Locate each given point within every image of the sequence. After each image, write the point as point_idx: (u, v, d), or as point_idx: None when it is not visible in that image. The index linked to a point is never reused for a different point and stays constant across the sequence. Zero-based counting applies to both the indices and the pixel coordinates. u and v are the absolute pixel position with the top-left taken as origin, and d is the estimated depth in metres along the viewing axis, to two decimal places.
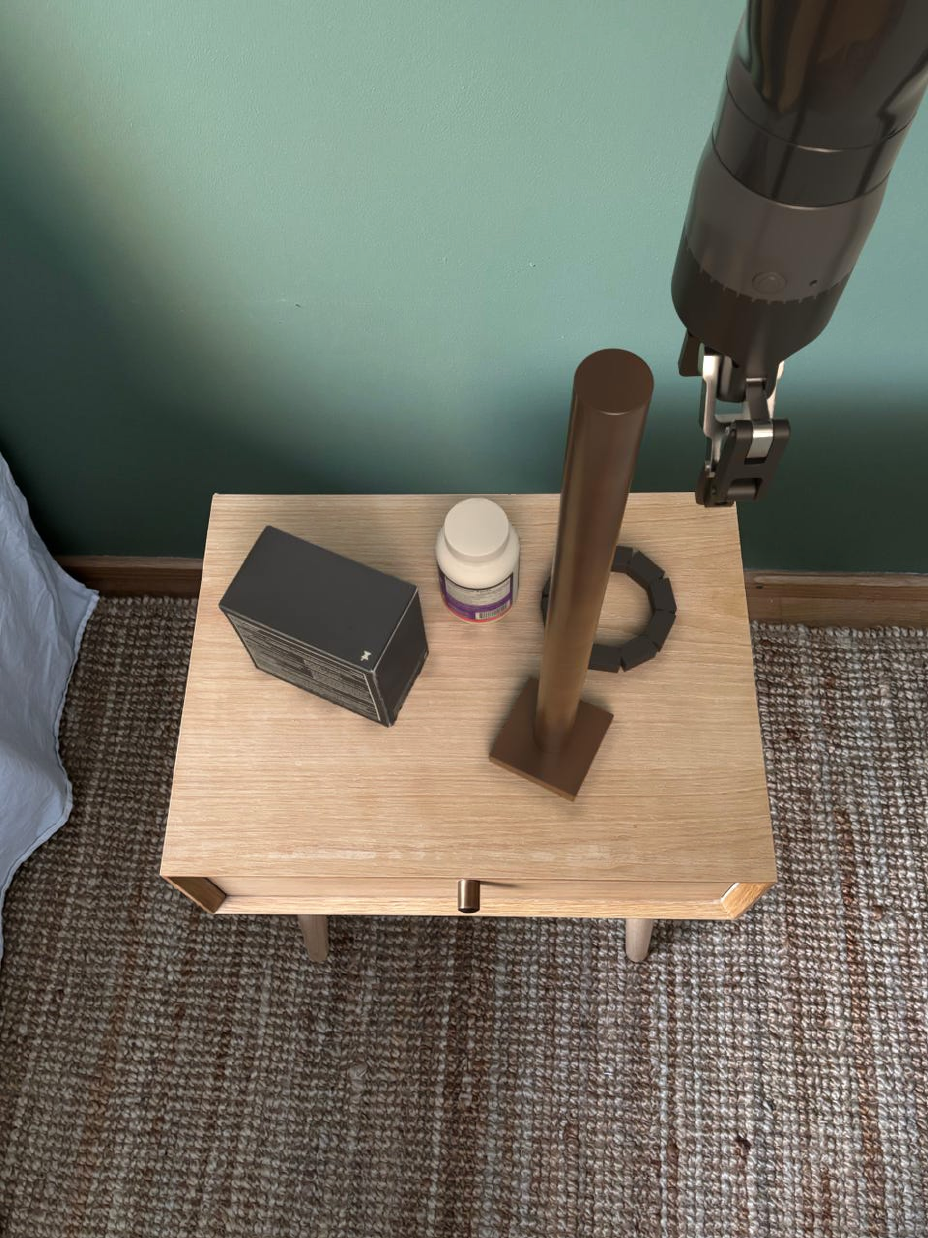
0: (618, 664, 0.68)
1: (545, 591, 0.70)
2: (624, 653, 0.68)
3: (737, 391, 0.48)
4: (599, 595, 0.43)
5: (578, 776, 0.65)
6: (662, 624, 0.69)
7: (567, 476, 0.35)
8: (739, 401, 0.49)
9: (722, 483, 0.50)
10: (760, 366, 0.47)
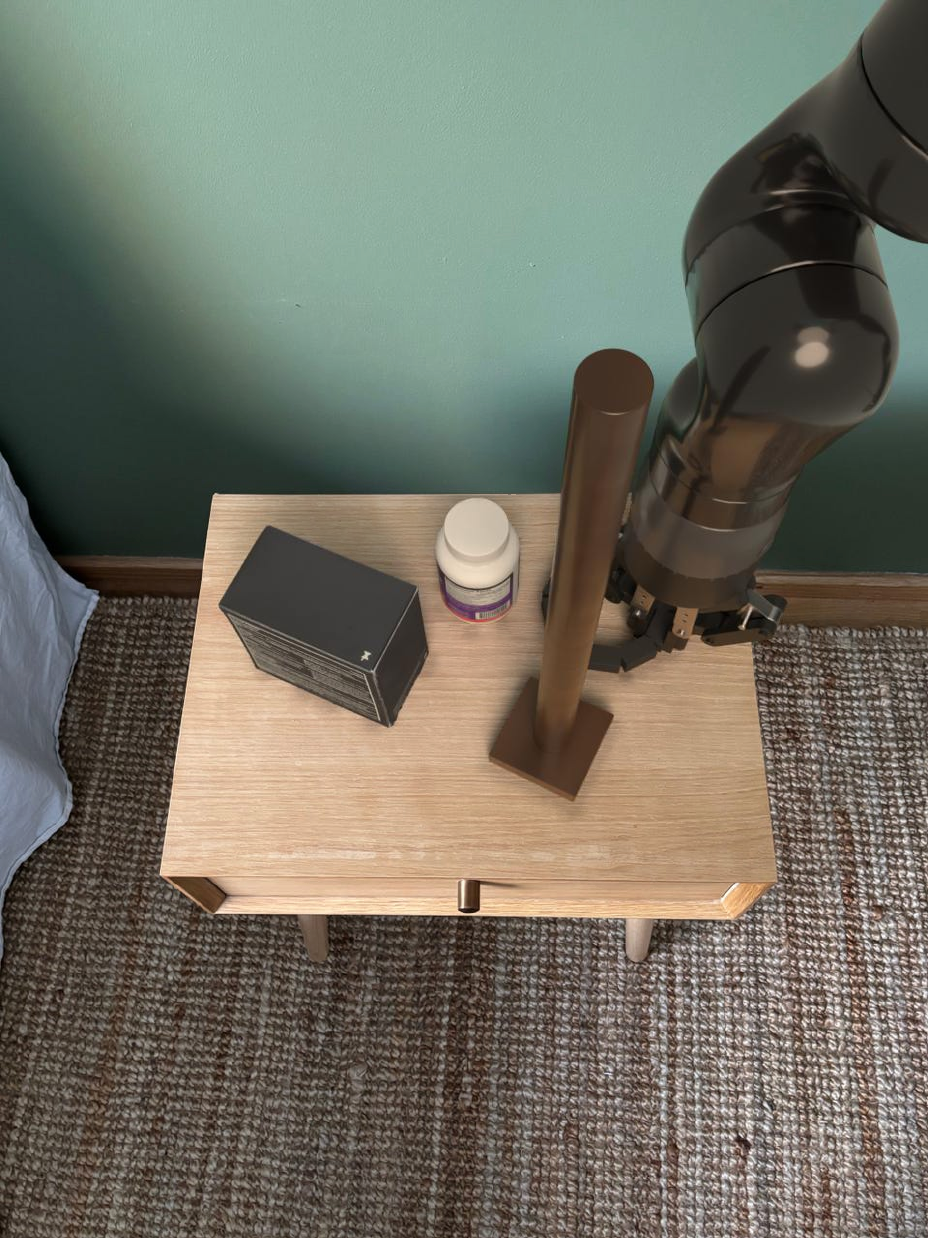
0: (619, 664, 0.68)
1: (545, 592, 0.70)
2: (624, 654, 0.68)
3: (745, 602, 0.59)
4: (599, 595, 0.43)
5: (578, 776, 0.65)
6: (663, 624, 0.69)
7: (567, 476, 0.35)
8: (746, 604, 0.59)
9: (732, 643, 0.63)
10: None
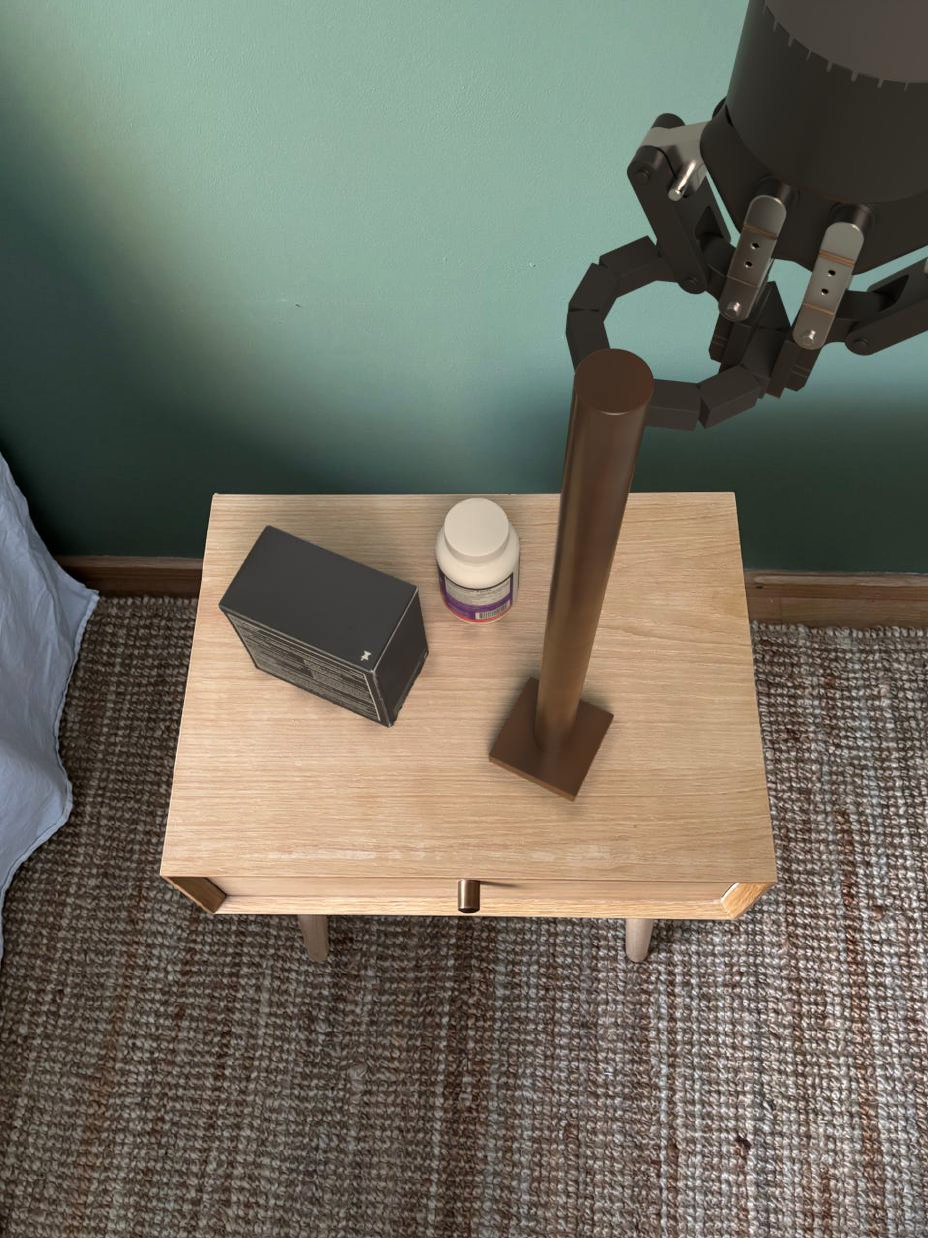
0: (697, 409, 0.41)
1: (573, 303, 0.43)
2: (706, 392, 0.41)
3: None
4: (599, 595, 0.43)
5: (578, 776, 0.65)
6: (768, 348, 0.42)
7: (567, 476, 0.35)
8: None
9: (906, 338, 0.36)
10: None
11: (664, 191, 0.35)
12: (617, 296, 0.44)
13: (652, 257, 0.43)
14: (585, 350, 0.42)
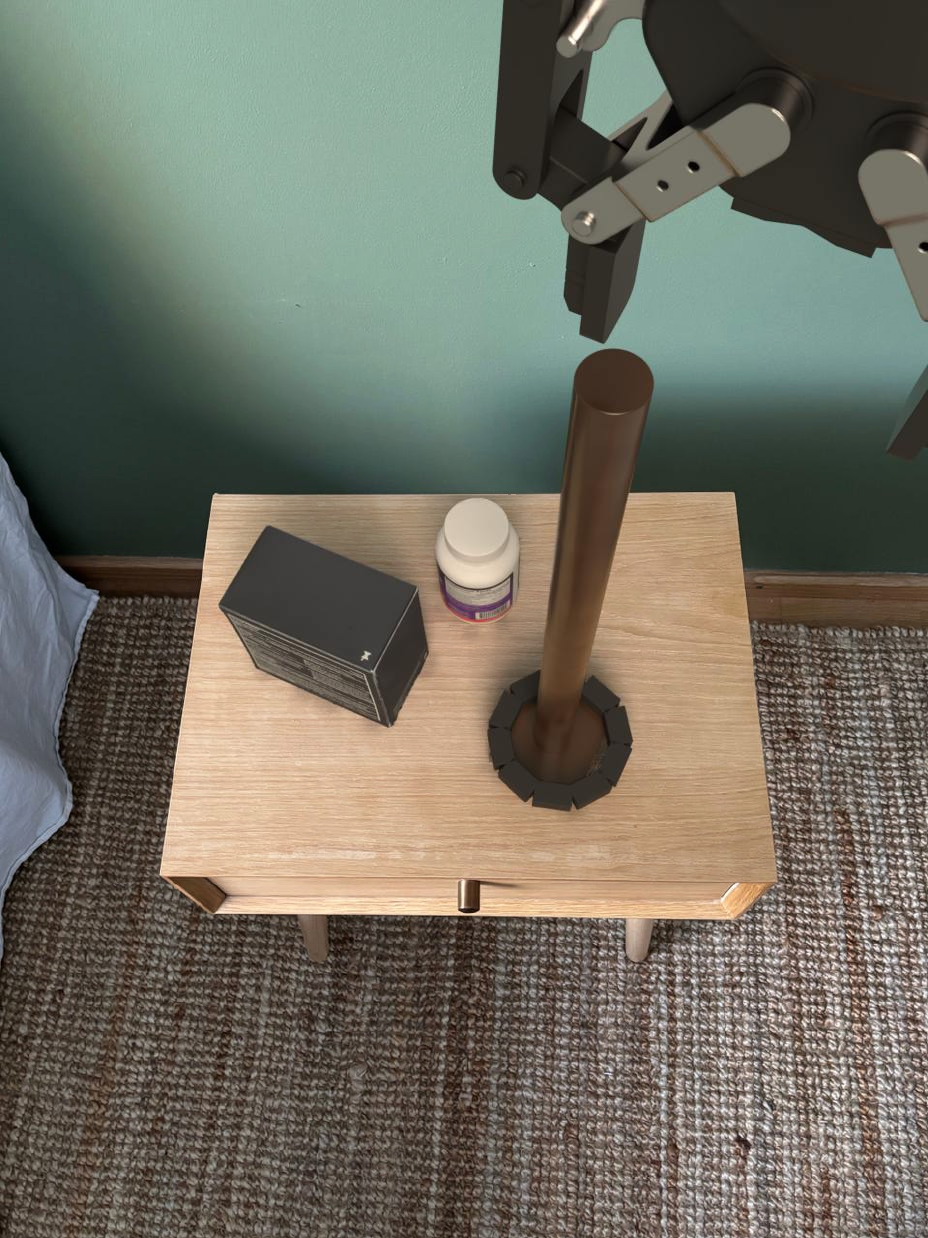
0: (569, 804, 0.63)
1: (491, 722, 0.65)
2: (576, 792, 0.63)
3: None
4: (599, 595, 0.43)
5: (578, 776, 0.65)
6: (617, 758, 0.64)
7: (567, 476, 0.35)
8: None
9: None
10: None
11: (554, 32, 0.20)
12: (522, 707, 0.67)
13: None
14: (498, 759, 0.64)
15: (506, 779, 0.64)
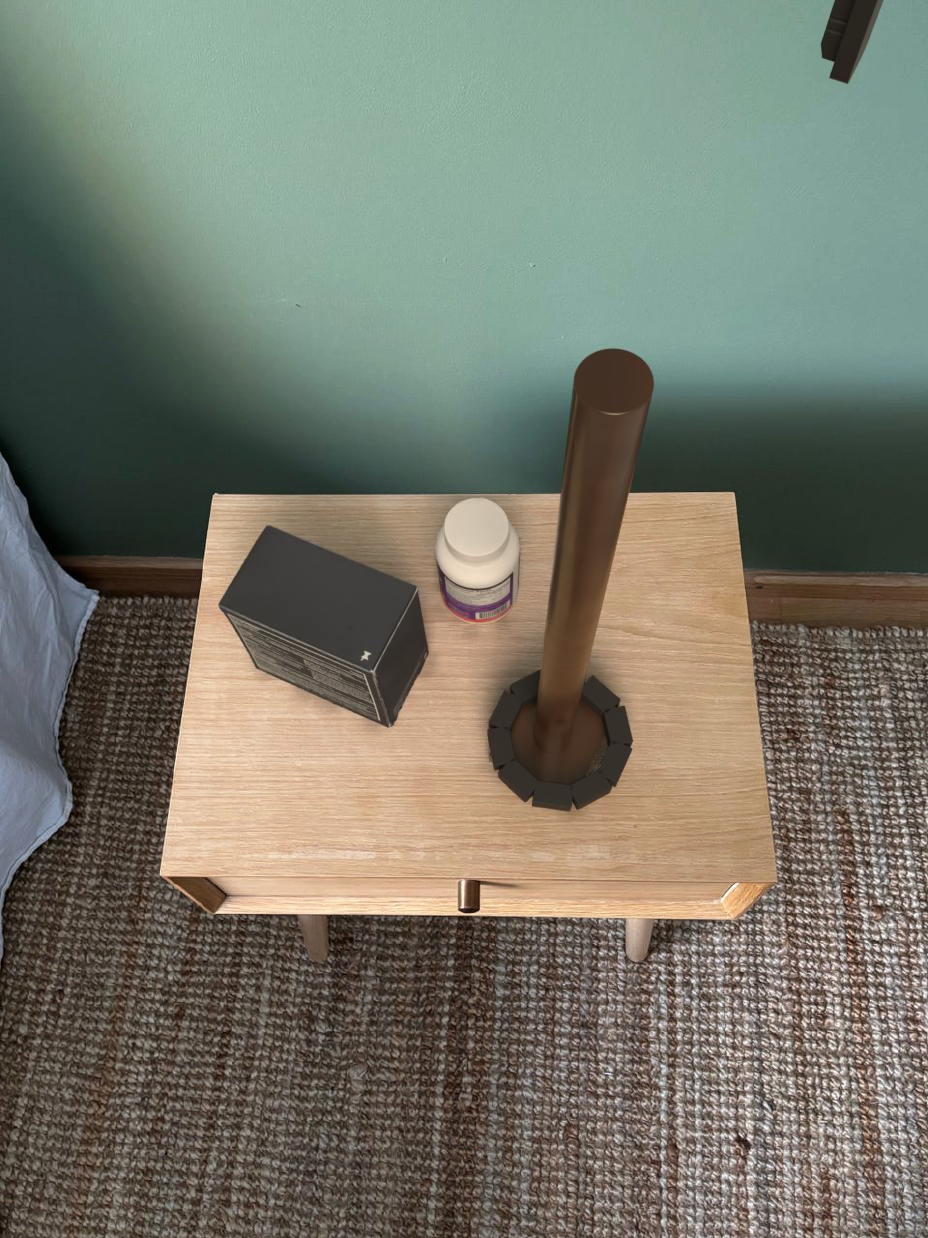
0: (569, 804, 0.63)
1: (491, 722, 0.65)
2: (576, 792, 0.63)
3: None
4: (599, 595, 0.43)
5: (578, 776, 0.65)
6: (617, 758, 0.64)
7: (567, 476, 0.35)
8: None
9: None
10: None
11: None
12: (522, 707, 0.67)
13: None
14: (498, 759, 0.64)
15: (506, 779, 0.64)
